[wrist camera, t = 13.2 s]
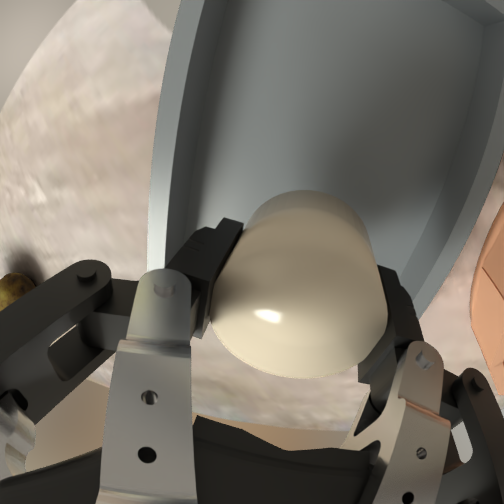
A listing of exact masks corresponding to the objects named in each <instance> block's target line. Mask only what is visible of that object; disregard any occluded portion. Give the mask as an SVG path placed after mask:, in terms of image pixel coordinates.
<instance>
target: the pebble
mask: <svg viewBox="0 0 504 504" xmlns="http://www.w3.org/2000/svg"><path fill="white" fill-rule="evenodd" d="M209 317H210V321H211V325H212V327H213V329H214V331H215V333H216V335H217V336H218V338H219V340H220V341H221V342H222V343H223V345H224V346H225V347H226V348H227V349H228V350H229V351H230V352H231V353H232V354H234V355H235V356H236V357H237V358H239V359H240V360H242V361H243V362H245V363H246V364H248V365H250V366H252V367H254V368H256V369H259V370H261V371H263V372H267V373H270V374H273V375H277V376H282V377H288V378H300V379H306V378H319V377H325V376H330V375H334V374H337V373H340V372H343V371H345V370H347V369H350V368H351V367H353V366H355V365H357V364H358V363H360V362H361V361H363V360H364V359H365V358H366V357H367V356H368V354H369V353H370V352H371V351H372V349H373V348H374V347H375V345H376V344H377V342H378V341H379V340H380V338H381V337H382V336H383V334H384V333H385V329H386V325H387V318H388V312H387V304H386V299H385V295H384V291H383V287H382V283H381V279H380V275H379V271H378V267H377V263H376V260H375V256H374V252H373V249H372V245H371V242H370V239H369V235H368V232H367V230H366V227H365V225H364V223H363V221H362V219H361V218H360V217H359V215H358V214H357V213H356V212H355V211H354V210H353V209H352V208H351V207H350V206H349V205H348V204H346V203H345V202H344V201H342V200H340V199H338V198H337V197H335V196H332V195H330V194H327V193H323V192H319V191H313V190H296V191H289V192H286V193H282V194H279V195H277V196H275V197H273V198H271V199H269V200H268V201H266V202H265V203H263V204H262V205H261V206H260V207H259V208H258V209H257V210H256V211H255V212H254V213H253V214H252V216H251V217H250V219H249V220H248V222H247V224H246V226H245V228H244V230H243V231H242V233H241V235H240V237H239V239H238V241H237V242H236V244H235V246H234V248H233V250H232V252H231V254H230V255H229V257H228V259H227V261H226V263H225V265H224V267H223V268H222V270H221V272H220V274H219V276H218V278H217V280H216V282H215V284H214V288H213V294H212V300H211V306H210V312H209Z"/></svg>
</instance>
